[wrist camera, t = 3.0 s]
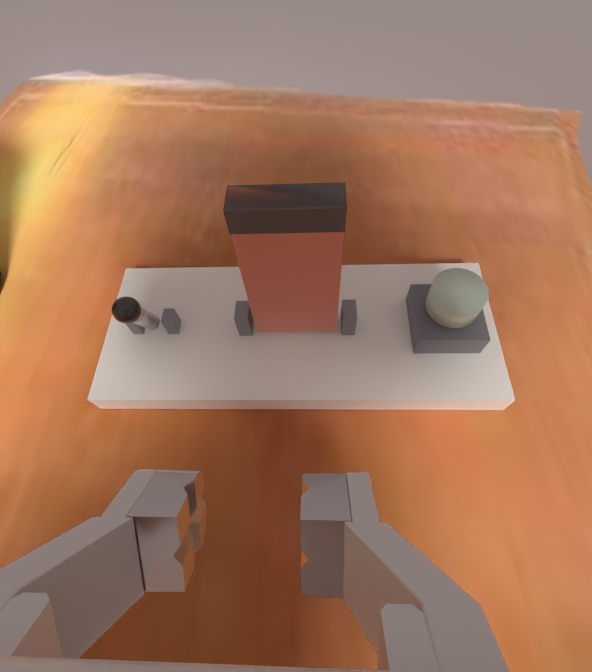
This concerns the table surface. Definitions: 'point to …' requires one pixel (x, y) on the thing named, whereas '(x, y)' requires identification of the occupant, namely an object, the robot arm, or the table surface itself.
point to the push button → (456, 297)
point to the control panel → (298, 348)
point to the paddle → (289, 252)
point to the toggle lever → (134, 313)
